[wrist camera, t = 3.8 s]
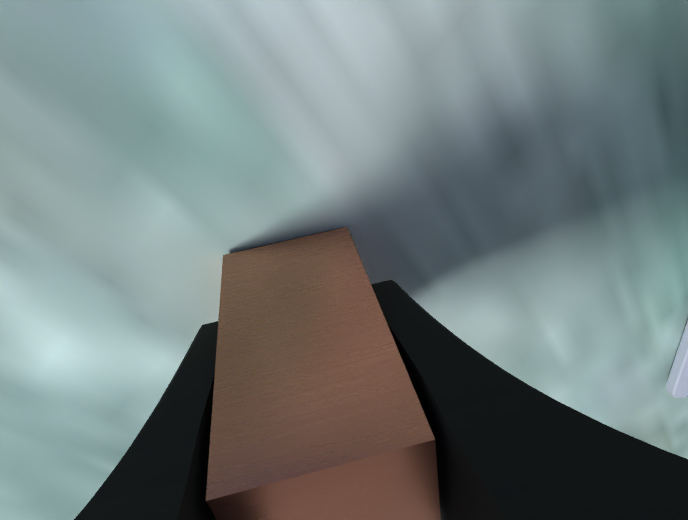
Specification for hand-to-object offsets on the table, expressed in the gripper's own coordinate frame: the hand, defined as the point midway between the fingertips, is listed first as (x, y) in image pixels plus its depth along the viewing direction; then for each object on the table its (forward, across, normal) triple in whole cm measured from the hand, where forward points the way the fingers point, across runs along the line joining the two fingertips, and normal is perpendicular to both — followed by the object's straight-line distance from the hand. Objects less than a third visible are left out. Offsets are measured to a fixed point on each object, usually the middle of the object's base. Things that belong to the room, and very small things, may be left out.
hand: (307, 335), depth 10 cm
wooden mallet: (+2, 0, +7) cm, 7 cm away
